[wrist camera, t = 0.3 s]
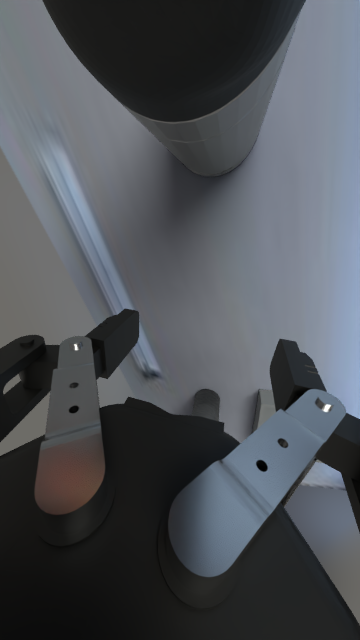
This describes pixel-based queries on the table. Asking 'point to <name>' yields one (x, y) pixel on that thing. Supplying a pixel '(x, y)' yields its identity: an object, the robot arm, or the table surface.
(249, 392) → the table surface
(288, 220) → the table surface
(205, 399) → the pin
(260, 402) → the tray
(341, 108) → the table surface
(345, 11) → the table surface
